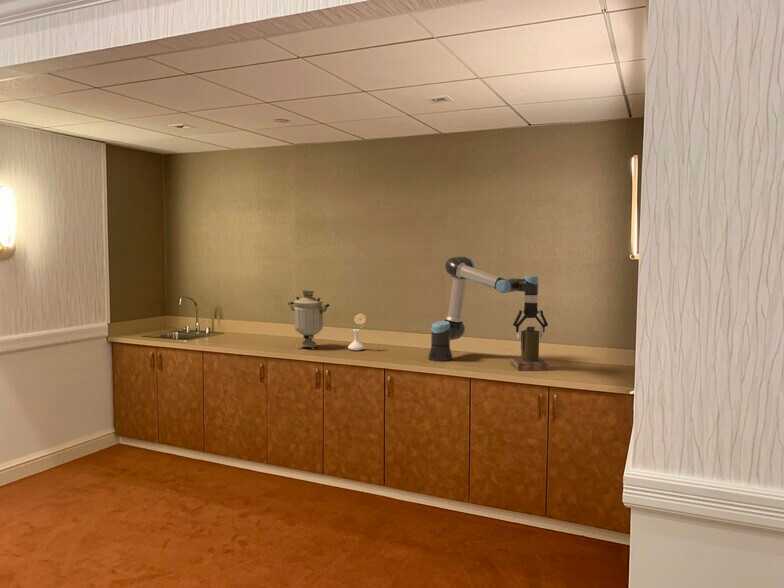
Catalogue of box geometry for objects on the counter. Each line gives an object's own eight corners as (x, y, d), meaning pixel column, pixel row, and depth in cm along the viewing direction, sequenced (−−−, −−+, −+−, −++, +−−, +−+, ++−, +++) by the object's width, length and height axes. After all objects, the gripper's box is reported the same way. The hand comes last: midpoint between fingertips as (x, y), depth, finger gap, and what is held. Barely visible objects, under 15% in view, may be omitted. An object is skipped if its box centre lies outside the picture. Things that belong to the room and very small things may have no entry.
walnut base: (518, 370, 347) (518, 363, 347) (510, 364, 365) (510, 357, 365) (548, 370, 348) (549, 363, 347) (540, 363, 366) (540, 357, 365)
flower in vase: (345, 350, 406) (345, 314, 404) (351, 347, 417) (351, 312, 415) (363, 352, 402) (363, 314, 400) (369, 349, 413) (369, 312, 411)
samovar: (340, 346, 423) (339, 289, 419) (316, 352, 400) (315, 292, 397) (307, 342, 438) (306, 287, 435) (282, 347, 416) (281, 290, 413)
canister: (532, 358, 363) (533, 325, 361) (542, 361, 353) (543, 327, 351) (516, 359, 359) (517, 326, 357) (526, 362, 349) (526, 328, 348)
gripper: (511, 302, 349) (510, 339, 351) (554, 302, 350) (552, 339, 352) (508, 301, 356) (507, 336, 358) (550, 301, 357) (549, 336, 359)
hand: (530, 338), depth 355 cm, fingers open, 13 cm apart
